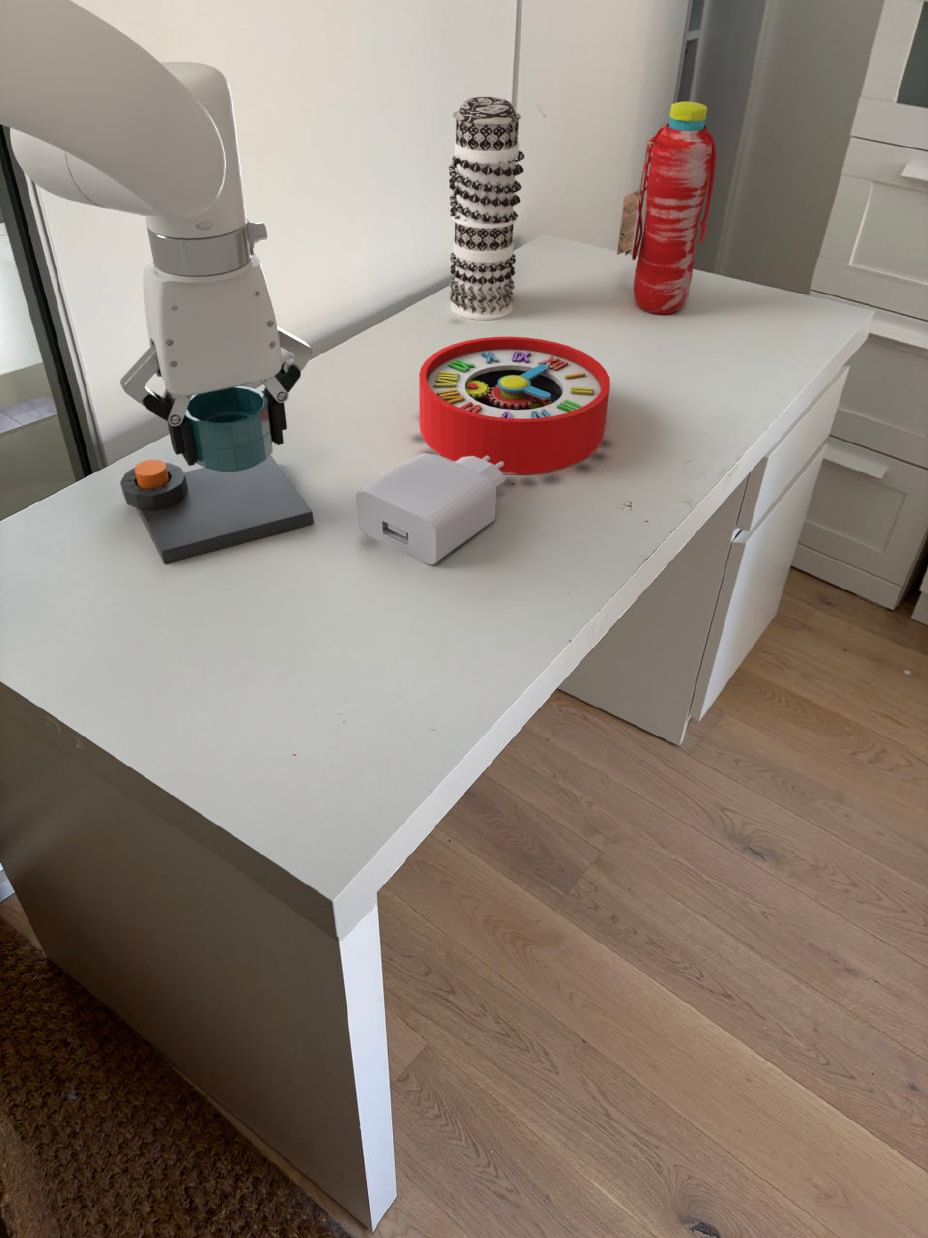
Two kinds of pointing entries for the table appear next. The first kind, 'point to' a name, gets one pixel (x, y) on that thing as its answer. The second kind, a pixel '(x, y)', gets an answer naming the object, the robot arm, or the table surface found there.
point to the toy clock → (513, 403)
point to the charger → (430, 504)
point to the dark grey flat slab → (216, 508)
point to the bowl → (230, 428)
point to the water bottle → (670, 209)
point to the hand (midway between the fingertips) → (232, 446)
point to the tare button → (151, 474)
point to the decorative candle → (484, 207)
